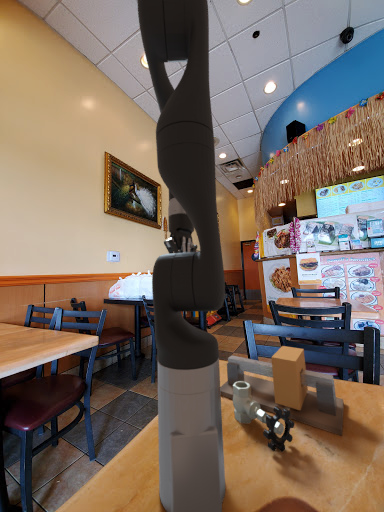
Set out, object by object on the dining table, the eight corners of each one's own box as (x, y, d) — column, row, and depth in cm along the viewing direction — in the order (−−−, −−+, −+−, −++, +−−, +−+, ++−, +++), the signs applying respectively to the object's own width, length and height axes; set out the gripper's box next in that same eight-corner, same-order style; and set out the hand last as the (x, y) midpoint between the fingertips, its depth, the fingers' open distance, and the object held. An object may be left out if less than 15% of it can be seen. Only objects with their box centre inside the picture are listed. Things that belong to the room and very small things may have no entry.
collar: (275, 402, 46) (271, 357, 47) (285, 384, 53) (282, 345, 55) (300, 410, 43) (295, 361, 44) (307, 390, 50) (303, 349, 52)
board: (217, 393, 53) (217, 389, 53) (237, 376, 62) (237, 372, 63) (341, 435, 37) (341, 429, 38) (343, 403, 47) (343, 398, 47)
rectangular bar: (227, 384, 56) (226, 358, 57) (234, 378, 59) (233, 354, 60) (335, 416, 41) (331, 380, 42) (336, 406, 44) (333, 373, 45)
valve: (225, 418, 44) (269, 460, 33) (223, 384, 45) (265, 415, 34) (249, 408, 47) (296, 444, 36) (247, 377, 48) (292, 403, 37)
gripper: (175, 207, 54) (177, 273, 51) (204, 218, 64) (206, 274, 62) (155, 213, 58) (156, 275, 56) (185, 223, 69) (186, 276, 66)
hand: (182, 275), depth 59 cm, fingers closed
